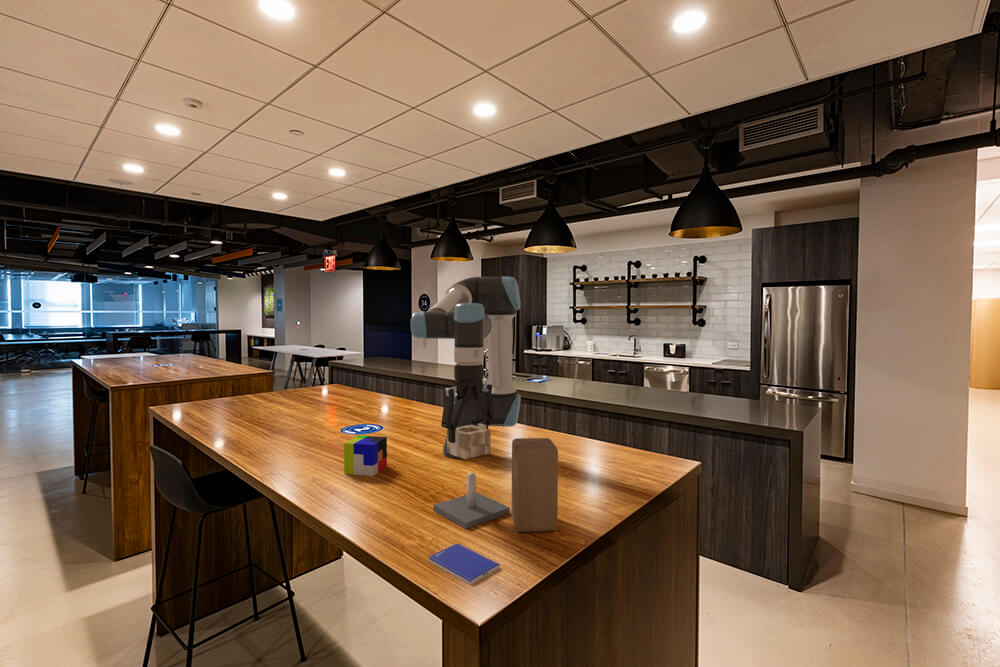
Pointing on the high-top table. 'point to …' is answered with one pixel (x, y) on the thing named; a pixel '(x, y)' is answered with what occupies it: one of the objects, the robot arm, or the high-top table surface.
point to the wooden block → (534, 484)
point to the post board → (471, 507)
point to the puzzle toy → (365, 455)
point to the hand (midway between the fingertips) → (468, 451)
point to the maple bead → (472, 441)
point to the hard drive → (463, 563)
